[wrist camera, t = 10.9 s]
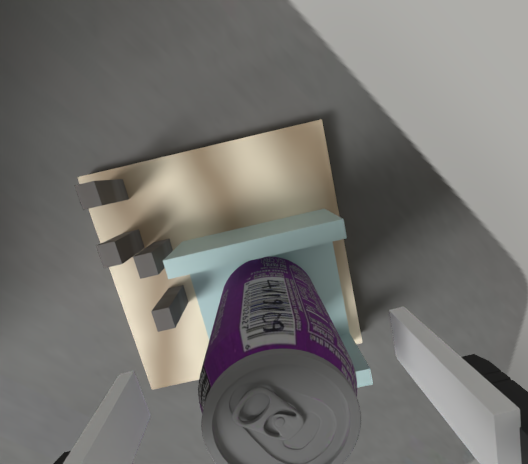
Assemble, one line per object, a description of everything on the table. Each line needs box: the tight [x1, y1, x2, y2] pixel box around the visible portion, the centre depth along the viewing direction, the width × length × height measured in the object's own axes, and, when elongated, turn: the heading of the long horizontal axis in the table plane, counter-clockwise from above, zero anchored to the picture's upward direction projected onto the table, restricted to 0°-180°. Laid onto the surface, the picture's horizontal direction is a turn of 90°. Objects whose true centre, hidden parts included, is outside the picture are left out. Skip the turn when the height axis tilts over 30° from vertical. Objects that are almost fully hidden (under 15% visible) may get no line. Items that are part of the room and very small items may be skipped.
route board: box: [74, 119, 362, 390], centre depth 22 cm, size 18×18×5 cm
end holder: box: [163, 209, 373, 388], centre depth 21 cm, size 11×11×5 cm
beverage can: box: [198, 257, 361, 464], centre depth 17 cm, size 7×7×12 cm
